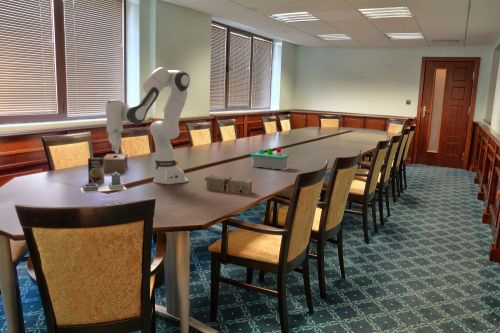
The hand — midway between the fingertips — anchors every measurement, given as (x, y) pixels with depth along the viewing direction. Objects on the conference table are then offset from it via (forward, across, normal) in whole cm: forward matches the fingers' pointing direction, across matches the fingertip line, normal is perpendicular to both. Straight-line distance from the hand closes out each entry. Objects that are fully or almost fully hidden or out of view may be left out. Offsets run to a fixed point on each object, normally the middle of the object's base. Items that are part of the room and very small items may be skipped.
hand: (115, 152), depth 237 cm
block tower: (+24, -23, -62) cm, 70 cm away
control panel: (+24, +38, -126) cm, 134 cm away
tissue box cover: (+23, +63, -11) cm, 68 cm away
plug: (+21, 0, 0) cm, 21 cm away
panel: (+22, 0, +7) cm, 23 cm away
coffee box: (+23, +20, +8) cm, 31 cm away
